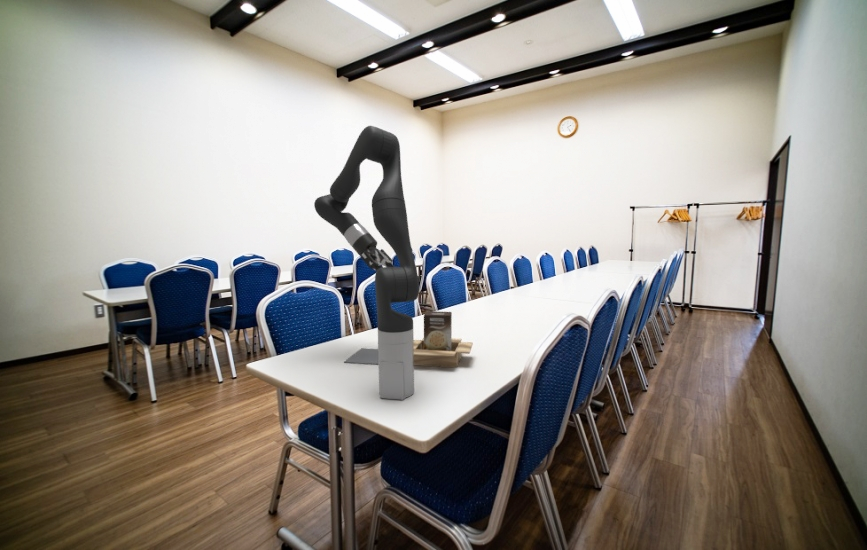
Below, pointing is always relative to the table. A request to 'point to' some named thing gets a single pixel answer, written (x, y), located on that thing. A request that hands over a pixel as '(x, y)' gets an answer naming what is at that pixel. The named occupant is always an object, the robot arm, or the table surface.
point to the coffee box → (437, 330)
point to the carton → (440, 354)
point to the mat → (364, 357)
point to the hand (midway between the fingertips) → (391, 275)
